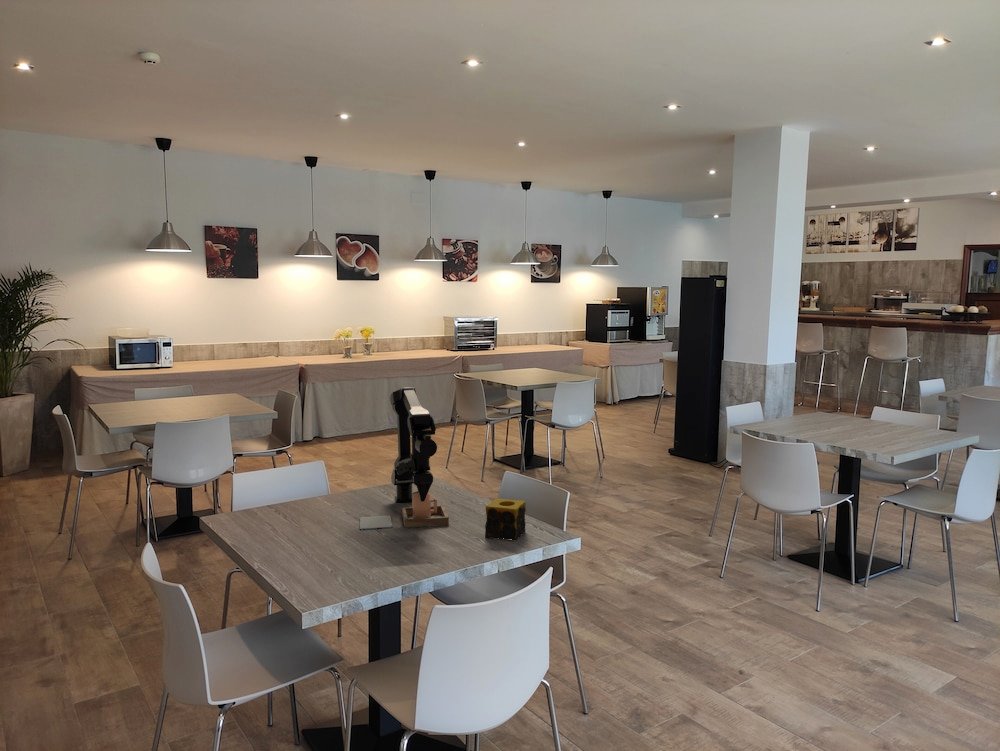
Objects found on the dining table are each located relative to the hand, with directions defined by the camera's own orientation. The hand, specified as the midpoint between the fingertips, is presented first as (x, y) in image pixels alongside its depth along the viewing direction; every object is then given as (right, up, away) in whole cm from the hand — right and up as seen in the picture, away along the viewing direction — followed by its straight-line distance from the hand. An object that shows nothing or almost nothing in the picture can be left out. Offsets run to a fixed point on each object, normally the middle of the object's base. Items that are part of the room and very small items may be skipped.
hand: (421, 497), depth 237 cm
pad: (-15, -8, -2) cm, 17 cm away
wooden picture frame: (+1, -8, +1) cm, 8 cm away
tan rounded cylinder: (0, -8, +1) cm, 8 cm away
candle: (+28, -9, -14) cm, 32 cm away
